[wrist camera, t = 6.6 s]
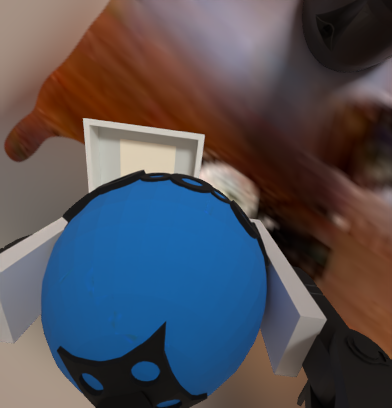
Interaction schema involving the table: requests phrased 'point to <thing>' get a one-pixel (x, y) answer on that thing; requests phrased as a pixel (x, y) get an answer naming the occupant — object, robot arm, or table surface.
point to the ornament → (153, 291)
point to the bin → (138, 151)
